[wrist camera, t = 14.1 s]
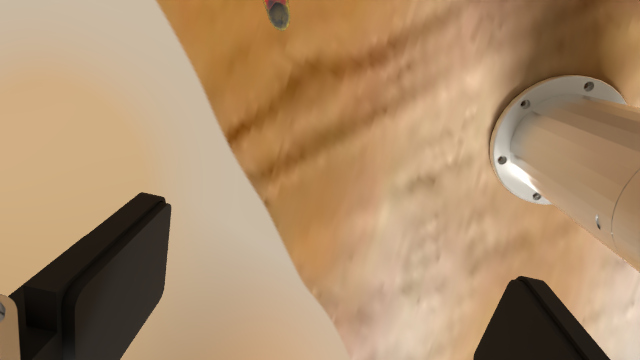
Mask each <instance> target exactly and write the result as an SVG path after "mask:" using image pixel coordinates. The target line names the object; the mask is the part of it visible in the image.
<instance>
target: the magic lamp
mask: <svg viewBox="0 0 640 360" xmlns="http://www.w3.org/2000/svg"><path fill="white" fill-rule="evenodd" d="M263 2H264V5H265V8H266V11H267V14H268V17H269V19H270V22H271V23H272V25H273V26H274V27H275V28H276V29H278V30H281V31H284V30H285V29H286V28H287V27H288V26H289V23H290V10H289V2H288V0H263Z"/></svg>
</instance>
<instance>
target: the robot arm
mask: <svg viewBox="0 0 640 360" xmlns="http://www.w3.org/2000/svg"><path fill="white" fill-rule="evenodd" d="M584 85H585V87H584ZM522 101H523V102H524V103H523V105H521V103H522ZM500 156H501V158H500V159H499V160H498V158H499V157H500ZM490 160H491V164H492V168H493V170H494V172H495V175H496V177H497V178H498V180H499V181H500V182H501V183H502V185H503V186H504V187H505V188H507V189H508V190H509V191H510V192H511V193H512V194H514V195H516V196H517V197H519V198H520V199H523V200H526V201H528V202H531V203H537V204H553V205H554V206H556V207H557V208H558V209H559V210H561V211H562V212H563V213H565V214H566V215H567V216H568V217H570V218H571V219H572V220H574V221H575V222H576V223H577V224H579V225H580V226H581V227H582V228H584V229H585V230H586V231H588V232H589V233H590V234H591V235H593V236H594V237H595V238H596V239H598V240H599V241H600V242H602V243H603V244H604V245H605V246H607V247H608V248H609V249H611V250H612V251H613V252H614V253H616V254H617V255H618V256H619V257H621V258H622V259H623V260H625V261H626V262H627V263H628V264H629V265H631V266H632V267H633V268H635V269H636V270H637V271H638V272H640V108H638V107H633V106H629V105H627V103H626V102H625V100H624V99H623V97H622V95H621V94H620V93H619V92H618V91H617V90H615V89H614V88H613V87H612V86H610V85H609V84H607V83H605V82H603V81H602V80H598V79H595V78H592V77H587V76H580V75H562V76H557V77H552V78H549V79H546V80H543V81H541V82H538V83H536V84H534V85H533V86H531V87H529V88H527V89H526V90H524V91H523V92H522V93H520V94H519V95H518V96H517V97H516V98H514V99H513V100H512V101H511V103H510V104H509V105H508V106H507V107H506V108H505V109H504V111H503V112H502V114H501V116H500V117H499V119H498V120H497V122H496V125H495V127H494V130H493V132H492V137H491V142H490ZM170 217H171V205H170V204H168V203H166V202H165V198H164V197H161V196H157V195H152V194H147V193H143V192H142V193H139V194H138V195H137V196H136V197H135V198H133V199H132V200H130V201H129V202H128V203H127V204H125V205H124V206H123V207H122V208H120V209H119V210H118V211H117V212H115V213H114V214H113V215H112V216H110V217H109V218H108V219H107V220H105V221H104V222H103V223H101V224H100V225H99V226H98V227H96V228H95V229H94V230H93V231H91V232H90V233H89V234H87V235H86V236H84V237H83V238H81V239H80V240H79V241H78V242H76V243H75V244H74V245H73V246H71V247H70V248H69V249H68V250H66V251H65V252H64V253H63V254H61V255H60V256H59V257H57V258H56V259H55V260H54V261H52V262H51V263H50V264H49V265H47V266H46V267H45V268H43V269H42V270H41V271H40V272H39V273H37V274H36V275H35V276H33V277H32V278H31V279H30V280H28V281H27V282H26V283H24V284H23V285H22V286H21V287H19V288H18V289H17V290H16V291H14V292H13V293H12V294H11V295H9V296H8V297H7V296H5V295H2V294H0V360H120V358H121V357H122V356H123V354H124V353H125V351H126V350H127V348H128V347H129V345H130V344H131V342H132V341H133V339H134V338H135V336H136V335H137V333H138V332H139V330H140V329H141V327H142V326H143V324H144V323H145V321H146V320H147V318H148V317H149V316H150V314H151V313H152V311H153V310H154V308H155V307H156V305H157V304H158V302H159V300H160V299H161V297H162V294H163V291H164V285H165V274H166V262H167V251H168V240H169V229H170ZM474 360H610V359H609V358H608V356H607V355H606V354H605V353H604V352H603V350H602V349H601V348H600V347H599V346H598V344H597V343H596V342H595V341H594V340H593V339H592V337H591V336H590V335H589V334H588V333H587V331H586V330H585V329H584V328H583V327H582V325H581V324H580V323H579V322H578V321H577V320H576V318H575V317H574V316H573V315H572V314H571V312H570V311H569V310H568V309H567V308H566V306H565V305H564V304H563V303H562V302H561V300H560V299H559V298H558V297H557V296H556V295H555V293H554V292H553V291H552V290H551V289H550V287H549V286H548V285H547V284H546V283H545V282H544V281H542V280H538V279H533V278H529V277H524V276H519V277H518V278H516V279H515V280H511V281H510V282H509V284H508V285H507V287H506V289H505V292H504V294H503V296H502V298H501V300H500V302H499V304H498V306H497V308H496V310H495V312H494V314H493V316H492V318H491V320H490V322H489V324H488V326H487V328H486V330H485V333H484V335H483V337H482V339H481V341H480V343H479V345H478V347H477V349H476V351H475V354H474Z"/></svg>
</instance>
